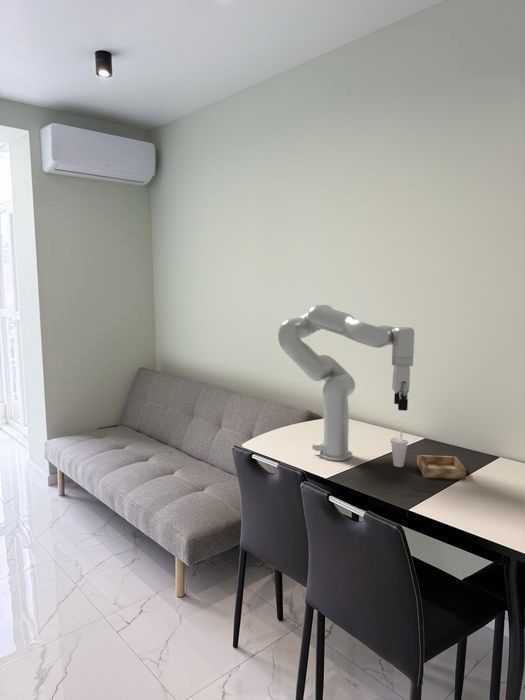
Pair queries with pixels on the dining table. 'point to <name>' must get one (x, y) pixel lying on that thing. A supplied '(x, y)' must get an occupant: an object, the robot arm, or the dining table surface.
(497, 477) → the dining table surface
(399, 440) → the smoothie
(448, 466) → the box
